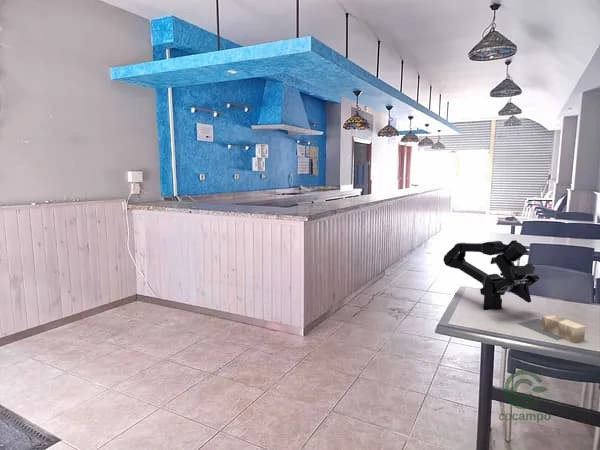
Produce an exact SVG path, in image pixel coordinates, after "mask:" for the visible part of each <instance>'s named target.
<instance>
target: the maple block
mask: <svg viewBox="0 0 600 450" xmlns="http://www.w3.org/2000/svg"><path fill="white" fill-rule="evenodd" d="M541 320H542V328H541V329H542V330H544V331H547V332H549V333H552V334H554V335H557V336H559V337H562V338H564V339H565V340H568V341H570V342H572V343H578V342H582V341H585V334H586V326H585V325H583V324H580V323H578V322H574V321H573V320H572V321H571V320H568V319H566V318H563V317H561V316H557V315H554V314H547V315H542V319H541ZM564 339H563V340H564Z"/></svg>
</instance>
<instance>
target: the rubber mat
mask: <svg viewBox="0 0 600 450" xmlns="http://www.w3.org/2000/svg"><path fill="white" fill-rule="evenodd" d="M516 324H517V325H519V326H521V327H524V328H527V329H529V330H532V331H534V332H537V333H539V334H541V335H543V336H546V337H549V338H551V339H553V340H556V341H559V340H564V338H562V337H559V336H557V335H554V334H552V333H549V332H547V331H544V330H542V329H541V328H542V319H540V318H536V319H531V320H526V321H522V322H518V323H517V322H516Z"/></svg>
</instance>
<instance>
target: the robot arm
mask: <svg viewBox="0 0 600 450" xmlns="http://www.w3.org/2000/svg"><path fill="white" fill-rule="evenodd" d="M469 252H470V253H471V252H472V253H481V254H483V255H487V256H494V257H491V260H490V263H489V264H490V265H494V264H495V265H496V266H497V268H498V270H500V273H499V274H498V273H491V274H489V273H487V272H485V271H483V270H481V269H480V268H478V267H476V266H475V265H473V264H472V263H469V262H467V260H466V254H467V253H469ZM527 252H528V249H527V247H526V246H525V245H524V244H523V243H521V242H518V241H517V240H516V239H513V240H511V241H510V242H509V243H508V244H505V243H503V241H501V240H494V241H493V240H492V241H486V242H481V243H480V242H479V243H478V242H477V243H476V242H475V243H474V242H457V243H455V244H454V245H453V247H452V248H451V249H449V251H447V252H446V254H444V256H443V260H442V261H443V263H444V264H445V266H446V267H449V268H452V269H458V270H460V271H461V272H462V273H464V274H466V275H468V276H469V277H471V278H472V279H474V280H476V281H477V282H479V283H480V284H481V285H482V287H481V288H480V289H479V291H480V295H481V296H483V304H482V308H483V309H482V310H484V311H489V310H502V308H503V298H502V297H501V296H505V294H506V292H507V291H508V292H509V293H512V294H514V295H516V296H517V297H519V298H520V299H521V300H523V301H525V302H527V303H532V299H531V295H530V289H529V287H531V286H532V285H535V284H536V283H537V282H538V281H540V280H541V278H540V277H539V276H538V275H537V274H535V271H536V267H535V266H534V265H533V263H532V262H531V263H527V264H525V265H524V266H519V265H515V263H514V262H517V261H518V260H519V259H521V258H522V257H523V256H524V255H526V254H527ZM495 255H496V256H495ZM509 288H510V289H509ZM508 289H509V290H508Z"/></svg>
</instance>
